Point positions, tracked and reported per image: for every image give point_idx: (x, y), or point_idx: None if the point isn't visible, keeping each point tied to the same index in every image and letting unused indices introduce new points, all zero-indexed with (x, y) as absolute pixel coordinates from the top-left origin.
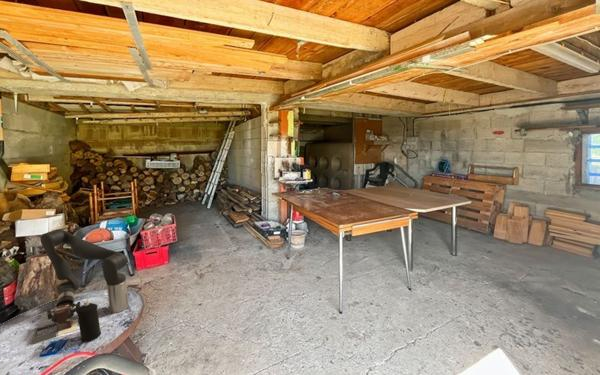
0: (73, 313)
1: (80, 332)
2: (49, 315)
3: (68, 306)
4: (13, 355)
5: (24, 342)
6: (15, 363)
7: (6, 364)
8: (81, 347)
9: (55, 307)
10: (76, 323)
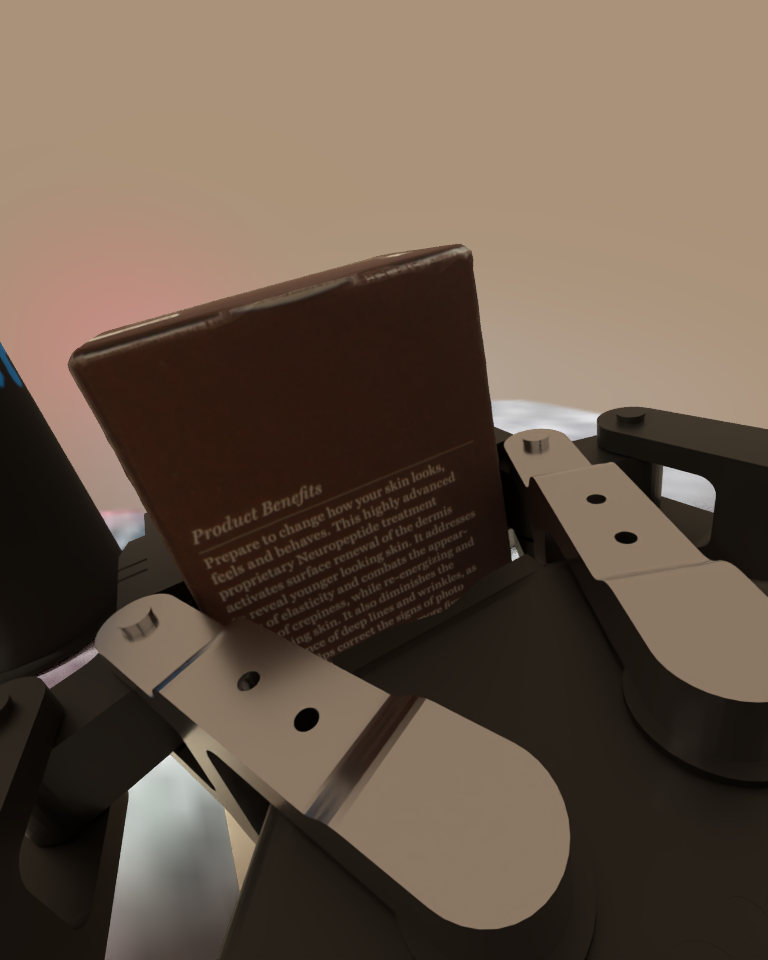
0: (126, 566)
1: (86, 491)
2: (598, 419)
3: (100, 335)
4: (593, 434)
5: (697, 506)
6: (495, 417)
7: (547, 406)
8: (130, 527)
9: (439, 247)
10: (251, 848)
